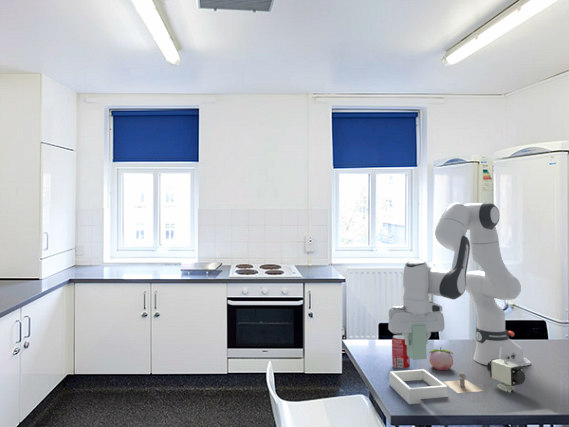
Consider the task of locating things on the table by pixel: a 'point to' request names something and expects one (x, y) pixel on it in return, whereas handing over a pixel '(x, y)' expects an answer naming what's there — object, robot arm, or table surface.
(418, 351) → the sage strut
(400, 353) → the soda can
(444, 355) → the decorative fruit
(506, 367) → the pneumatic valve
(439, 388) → the off-white rectangular frame
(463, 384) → the stud block
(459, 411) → the table surface
